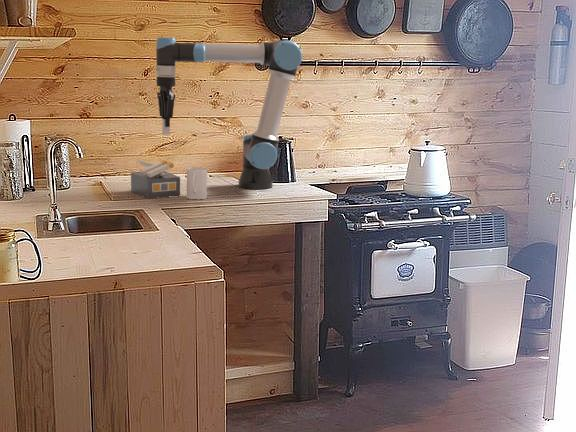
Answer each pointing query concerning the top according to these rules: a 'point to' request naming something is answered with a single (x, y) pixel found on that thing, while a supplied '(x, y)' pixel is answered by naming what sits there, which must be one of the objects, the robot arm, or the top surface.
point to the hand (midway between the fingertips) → (166, 134)
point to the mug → (196, 183)
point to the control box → (155, 185)
